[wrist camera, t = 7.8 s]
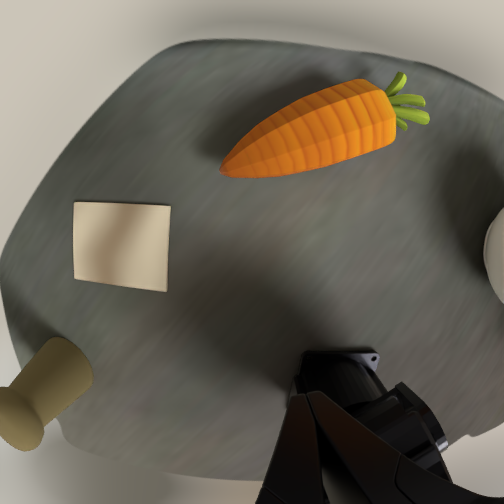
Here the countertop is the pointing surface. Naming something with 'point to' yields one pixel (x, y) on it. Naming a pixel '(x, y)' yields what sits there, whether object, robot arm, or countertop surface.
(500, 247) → the lidded jar
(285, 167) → the carrot
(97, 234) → the beige rectangular sheet
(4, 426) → the cork
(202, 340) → the countertop surface
